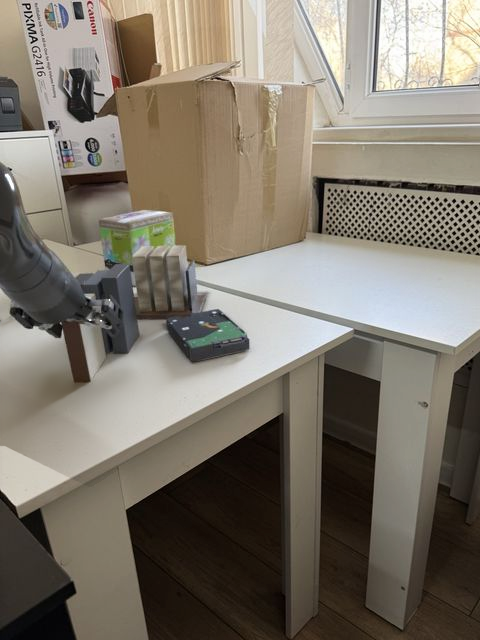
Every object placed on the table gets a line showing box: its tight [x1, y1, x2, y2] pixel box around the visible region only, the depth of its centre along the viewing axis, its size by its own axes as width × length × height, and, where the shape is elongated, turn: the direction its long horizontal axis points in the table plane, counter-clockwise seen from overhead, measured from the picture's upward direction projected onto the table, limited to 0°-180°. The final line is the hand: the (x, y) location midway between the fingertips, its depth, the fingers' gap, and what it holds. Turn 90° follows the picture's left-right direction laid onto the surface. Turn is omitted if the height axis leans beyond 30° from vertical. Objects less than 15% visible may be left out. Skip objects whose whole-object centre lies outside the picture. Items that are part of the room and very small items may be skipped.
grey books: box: [74, 264, 140, 355], centre depth 85 cm, size 8×9×13 cm
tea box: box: [98, 209, 176, 287], centre depth 121 cm, size 15×10×15 cm, turn 148°
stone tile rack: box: [132, 244, 207, 321], centre depth 100 cm, size 22×11×12 cm, turn 89°
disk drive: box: [165, 308, 251, 362], centre depth 87 cm, size 10×3×15 cm
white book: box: [60, 294, 107, 383], centre depth 77 cm, size 8×2×11 cm, turn 179°
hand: (87, 331), depth 78 cm, fingers open, 8 cm apart
